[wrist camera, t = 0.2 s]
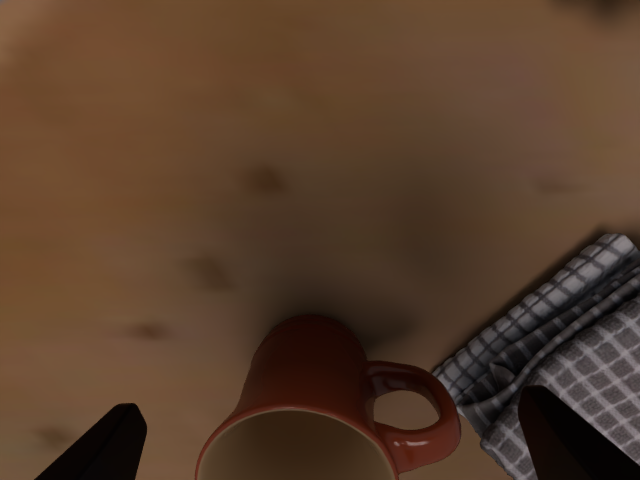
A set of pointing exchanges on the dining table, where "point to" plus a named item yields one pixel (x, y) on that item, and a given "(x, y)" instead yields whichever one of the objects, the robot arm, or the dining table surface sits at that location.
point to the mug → (324, 412)
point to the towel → (559, 356)
